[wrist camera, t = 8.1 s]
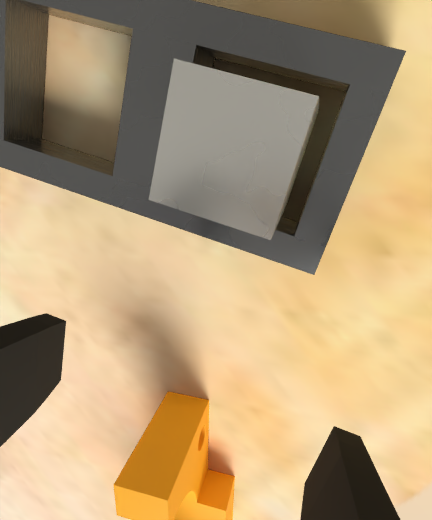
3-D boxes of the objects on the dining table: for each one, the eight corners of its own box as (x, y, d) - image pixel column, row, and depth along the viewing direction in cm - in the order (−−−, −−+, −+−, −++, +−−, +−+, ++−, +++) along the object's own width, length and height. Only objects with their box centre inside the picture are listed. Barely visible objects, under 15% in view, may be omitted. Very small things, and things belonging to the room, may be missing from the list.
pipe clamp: (231, 542, 25) (204, 669, 19) (173, 524, 26) (130, 639, 20) (238, 404, 21) (207, 512, 15) (169, 389, 22) (113, 484, 16)
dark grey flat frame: (19, 156, 19) (-20, 160, 17) (26, -25, 16) (-22, -51, 14) (314, 255, 16) (313, 274, 14) (391, 64, 13) (406, 51, 11)
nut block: (204, 177, 17) (148, 199, 11) (226, 84, 15) (174, 58, 10) (287, 203, 16) (270, 240, 11) (319, 109, 14) (319, 95, 9)
